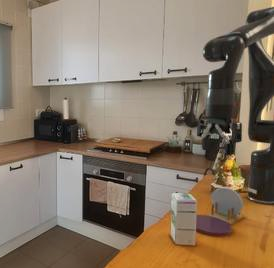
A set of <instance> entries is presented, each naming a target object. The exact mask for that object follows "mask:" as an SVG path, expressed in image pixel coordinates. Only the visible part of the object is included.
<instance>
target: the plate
mask: <svg viewBox="0 0 274 268" xmlns="http://www.w3.org/2000/svg"><path fill="white" fill-rule="evenodd" d="M210 202H211V203H210V204H211V205H212V204H214V209H215V203H216V202H217V203H218V205H217V211H218V212H219V213H221V214H223V215H226V216H227V214H228V209H230V216H231V207H234V213H233V216H234V215H237V214H238V213H240V214H241V212H242V211H243V209H244V200H243V198H242V196H241V195H240V194H239V193H238V192H236V190H234V189H232V188H230V187H219V188H216V189H214V190H213V191H212V192H211V195H210Z"/></svg>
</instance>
